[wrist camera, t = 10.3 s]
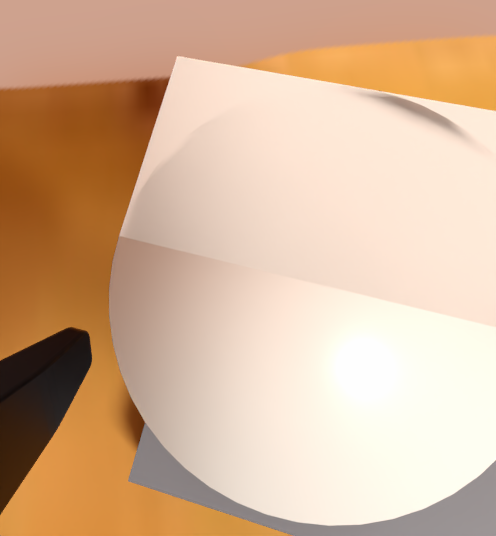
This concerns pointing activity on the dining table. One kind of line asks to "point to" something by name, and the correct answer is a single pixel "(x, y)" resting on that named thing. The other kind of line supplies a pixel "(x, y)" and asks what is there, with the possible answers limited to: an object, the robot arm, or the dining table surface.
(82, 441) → the dining table surface
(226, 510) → the key plate
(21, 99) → the dining table surface
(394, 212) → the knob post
